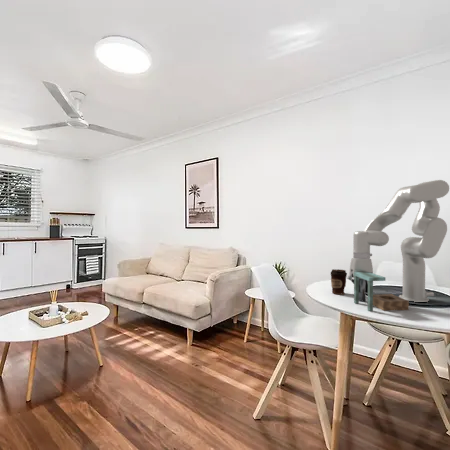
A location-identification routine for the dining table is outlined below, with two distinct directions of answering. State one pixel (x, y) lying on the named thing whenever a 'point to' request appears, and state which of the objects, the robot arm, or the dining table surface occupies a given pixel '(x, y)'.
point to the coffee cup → (338, 281)
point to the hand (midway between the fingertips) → (361, 291)
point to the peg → (362, 290)
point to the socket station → (378, 300)
